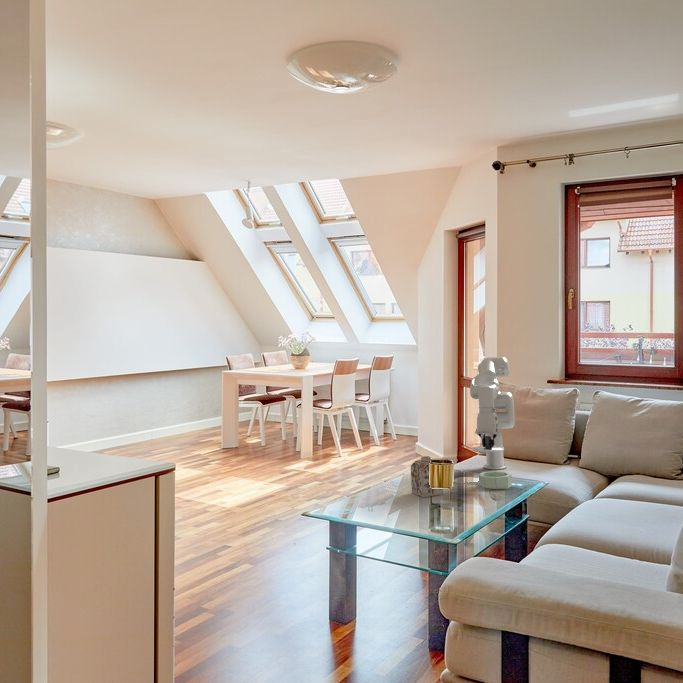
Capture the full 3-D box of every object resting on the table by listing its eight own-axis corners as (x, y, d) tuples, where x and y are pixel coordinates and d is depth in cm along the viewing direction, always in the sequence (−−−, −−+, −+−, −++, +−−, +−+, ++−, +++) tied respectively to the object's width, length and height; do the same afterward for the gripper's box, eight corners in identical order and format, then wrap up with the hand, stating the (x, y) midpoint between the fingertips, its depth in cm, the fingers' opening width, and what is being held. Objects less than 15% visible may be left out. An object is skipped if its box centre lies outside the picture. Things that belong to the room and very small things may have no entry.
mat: (459, 476, 364) (459, 475, 364) (489, 479, 355) (489, 477, 355) (446, 483, 350) (446, 482, 350) (477, 486, 340) (477, 484, 340)
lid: (479, 446, 351) (479, 433, 351) (508, 448, 342) (508, 434, 342) (467, 451, 338) (466, 437, 338) (497, 453, 329) (496, 439, 329)
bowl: (486, 482, 348) (486, 470, 348) (514, 484, 340) (514, 472, 340) (475, 488, 336) (475, 476, 336) (504, 490, 328) (504, 478, 328)
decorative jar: (431, 489, 337) (430, 453, 337) (444, 494, 327) (442, 457, 326) (410, 493, 333) (409, 456, 333) (422, 497, 322) (420, 460, 322)
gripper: (505, 409, 339) (506, 446, 339) (474, 409, 348) (476, 444, 348) (499, 411, 332) (501, 448, 332) (468, 410, 342) (470, 447, 342)
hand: (488, 446), depth 340 cm, fingers closed on lid, 3 cm apart
